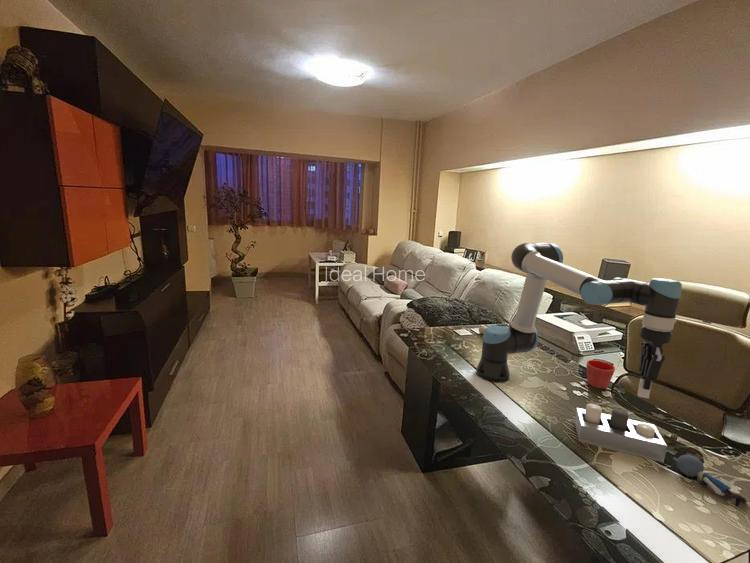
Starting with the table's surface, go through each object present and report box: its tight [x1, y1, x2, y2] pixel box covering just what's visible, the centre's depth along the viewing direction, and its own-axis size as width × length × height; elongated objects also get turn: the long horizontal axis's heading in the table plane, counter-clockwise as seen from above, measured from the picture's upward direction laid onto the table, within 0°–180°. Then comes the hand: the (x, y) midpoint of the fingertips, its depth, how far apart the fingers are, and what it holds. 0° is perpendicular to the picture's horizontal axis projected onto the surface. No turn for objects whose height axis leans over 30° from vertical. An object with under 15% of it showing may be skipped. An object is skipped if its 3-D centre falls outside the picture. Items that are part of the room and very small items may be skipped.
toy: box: [671, 454, 747, 507], centre depth 96 cm, size 7×6×15 cm
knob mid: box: [609, 408, 630, 431], centre depth 114 cm, size 5×5×6 cm
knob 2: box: [636, 423, 655, 438], centre depth 111 cm, size 5×5×6 cm
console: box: [574, 407, 668, 464], centre depth 114 cm, size 23×12×6 cm, turn 66°
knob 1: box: [584, 403, 603, 425], centre depth 117 cm, size 5×5×6 cm
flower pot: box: [586, 359, 616, 389], centre depth 154 cm, size 11×11×10 cm
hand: (642, 396), depth 110 cm, fingers closed
